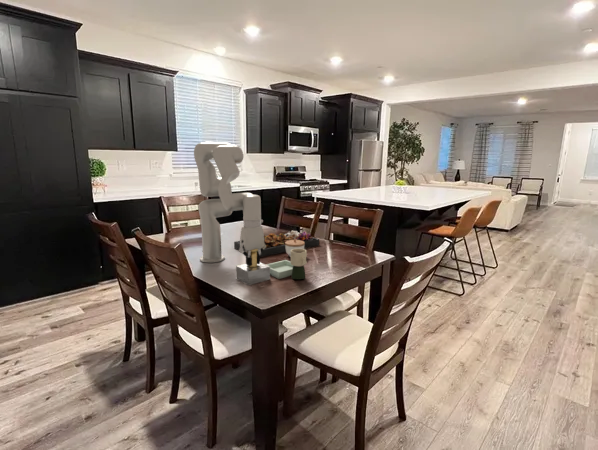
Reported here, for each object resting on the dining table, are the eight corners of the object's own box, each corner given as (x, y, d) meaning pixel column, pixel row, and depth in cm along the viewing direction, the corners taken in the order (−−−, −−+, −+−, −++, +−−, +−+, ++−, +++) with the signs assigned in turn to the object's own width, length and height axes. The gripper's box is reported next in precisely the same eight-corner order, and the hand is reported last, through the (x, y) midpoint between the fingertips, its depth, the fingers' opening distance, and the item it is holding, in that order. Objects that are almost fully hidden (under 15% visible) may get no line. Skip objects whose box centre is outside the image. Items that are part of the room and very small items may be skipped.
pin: (246, 278, 153) (245, 248, 150) (254, 276, 156) (254, 246, 153) (251, 281, 150) (251, 250, 147) (260, 279, 153) (260, 248, 150)
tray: (262, 271, 163) (262, 265, 163) (285, 265, 172) (285, 259, 171) (279, 278, 153) (278, 272, 153) (302, 272, 162) (302, 266, 162)
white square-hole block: (236, 278, 153) (236, 265, 152) (257, 273, 160) (257, 261, 159) (248, 285, 146) (248, 271, 144) (270, 279, 153) (270, 266, 152)
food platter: (295, 238, 230) (295, 223, 228) (319, 246, 211) (319, 229, 209) (234, 249, 203) (233, 232, 201) (255, 259, 184) (255, 240, 182)
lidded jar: (300, 259, 182) (300, 242, 180) (281, 257, 185) (281, 240, 183) (307, 254, 191) (307, 238, 190) (289, 252, 195) (289, 236, 193)
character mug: (311, 281, 151) (311, 252, 148) (296, 283, 148) (296, 254, 145) (300, 273, 160) (300, 246, 158) (286, 275, 157) (286, 248, 155)
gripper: (263, 220, 156) (263, 258, 160) (230, 224, 145) (232, 265, 149) (273, 222, 150) (273, 262, 154) (239, 227, 140) (241, 270, 144)
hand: (253, 263), depth 152 cm, fingers closed on pin, 3 cm apart
